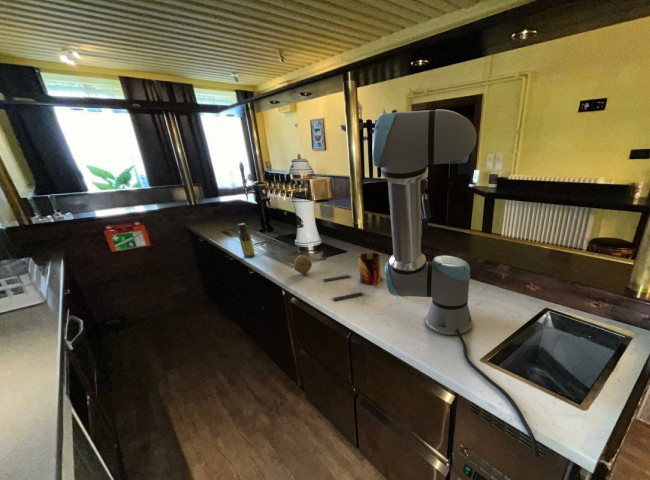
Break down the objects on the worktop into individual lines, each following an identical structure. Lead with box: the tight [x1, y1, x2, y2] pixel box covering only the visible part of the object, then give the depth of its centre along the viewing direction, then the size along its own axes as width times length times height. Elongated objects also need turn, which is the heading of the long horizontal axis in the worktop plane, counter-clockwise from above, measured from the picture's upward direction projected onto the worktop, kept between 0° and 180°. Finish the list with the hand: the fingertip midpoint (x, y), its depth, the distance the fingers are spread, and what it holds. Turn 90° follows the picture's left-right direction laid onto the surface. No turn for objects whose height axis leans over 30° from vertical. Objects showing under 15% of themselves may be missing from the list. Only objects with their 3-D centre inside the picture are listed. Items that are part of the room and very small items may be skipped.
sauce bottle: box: [237, 222, 256, 258], centre depth 178 cm, size 6×6×20 cm
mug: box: [357, 252, 382, 287], centre depth 137 cm, size 10×14×12 cm
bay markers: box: [323, 274, 363, 302], centre depth 136 cm, size 24×12×1 cm, turn 20°
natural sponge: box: [293, 254, 313, 275], centre depth 150 cm, size 9×9×10 cm
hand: (418, 232), depth 131 cm, fingers open, 11 cm apart
